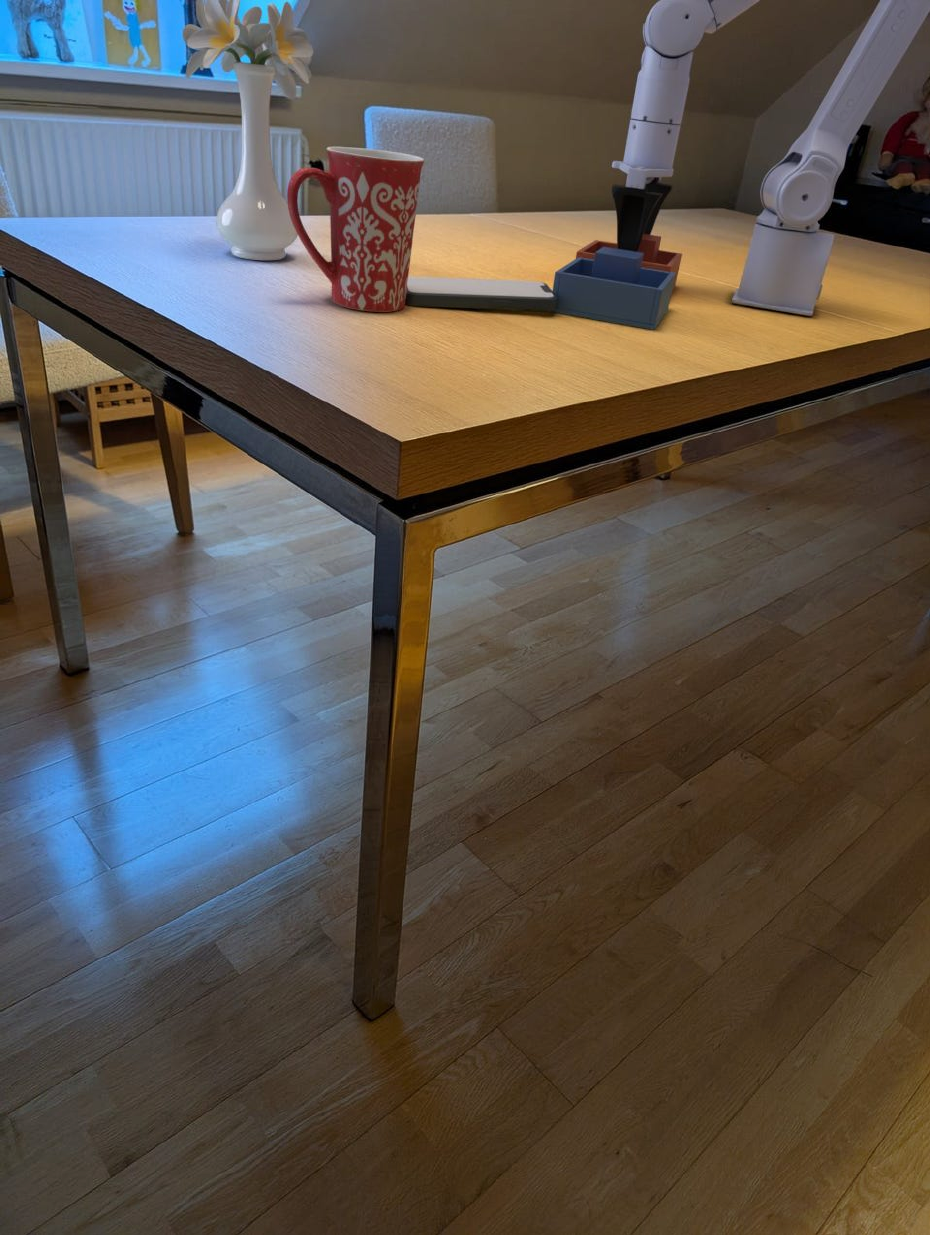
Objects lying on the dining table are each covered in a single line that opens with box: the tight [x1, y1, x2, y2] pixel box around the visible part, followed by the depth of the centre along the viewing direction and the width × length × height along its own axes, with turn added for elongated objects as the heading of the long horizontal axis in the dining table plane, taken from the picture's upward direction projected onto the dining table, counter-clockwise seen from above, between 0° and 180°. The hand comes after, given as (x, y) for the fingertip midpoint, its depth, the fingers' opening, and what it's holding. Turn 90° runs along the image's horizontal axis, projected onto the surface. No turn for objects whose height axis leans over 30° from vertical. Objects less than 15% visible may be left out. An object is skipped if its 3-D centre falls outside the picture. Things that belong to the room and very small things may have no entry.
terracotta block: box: [637, 234, 662, 263], centre depth 107 cm, size 4×4×6 cm
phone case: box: [405, 275, 558, 312], centre depth 93 cm, size 9×2×16 cm
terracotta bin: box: [575, 239, 683, 291], centre depth 108 cm, size 11×11×4 cm
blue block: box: [591, 247, 644, 285], centre depth 95 cm, size 4×4×6 cm
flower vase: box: [182, 0, 314, 262], centre depth 97 cm, size 13×18×25 cm
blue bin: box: [549, 257, 676, 331], centre depth 95 cm, size 11×11×4 cm
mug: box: [286, 146, 425, 313], centre depth 84 cm, size 13×9×14 cm
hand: (631, 250), depth 107 cm, fingers open, 7 cm apart
